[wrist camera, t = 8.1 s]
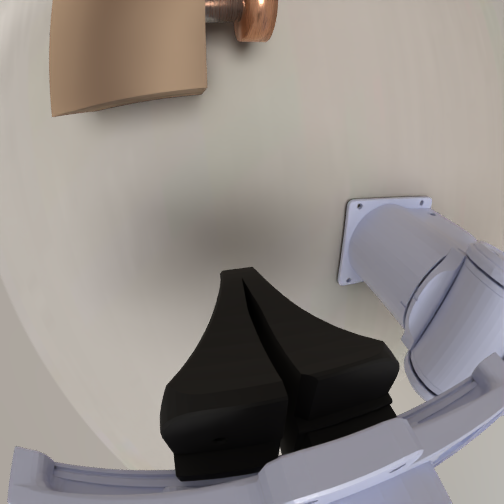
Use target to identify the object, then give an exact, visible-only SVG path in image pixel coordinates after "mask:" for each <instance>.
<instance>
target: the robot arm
mask: <svg viewBox="0 0 504 504" xmlns="http://www.w3.org/2000/svg"><path fill="white" fill-rule="evenodd" d="M420 201H421V203H420ZM358 204H360V206H359V207H358V208H357V206H358ZM431 204H432V199H431V198H430V197H428V196H420V197H391V198H369V199H353V200H350V201H349V202H348V204H347V211H346V221H345V229H344V237H343V245H342V253H341V260H340V267H339V273H338V280H337V281H338V283H339V285H341V286H343V285H349V284H354V283H359V282H365V283H366V284H367V285H368V286H369V288H370V289H371V290H372V291H373V292H374V293H375V295H376V296H377V297H378V298H379V299H380V300H381V302H382V303H383V304H384V305H385V306H386V308H387V309H388V310H389V311H390V312H391V314H392V315H393V316H394V317H395V318H396V320H397V321H398V322H399V323H400V325H401V326H402V327H403V328H404V330H405V332H404V334H403V336H402V338H401V341H402V342H403V343H404V344H405V346H406V347H407V348H408V350H409V351H408V352H407V353H406V355H405V359H404V368H405V372H406V375H407V377H408V379H409V381H410V384H411V385H412V387H413V388H414V390H415V391H416V393H417V394H418V395H419V396H420V397H421V398H422V399H424V400H425V401H426V402H425V403H423V404H421V405H419V406H417V407H415V408H413V409H411V410H409V411H407V412H404V413H402V414H400V415H398V416H396V414H395V412H394V411H393V409H392V407H391V406H390V404H391V403H392V398H391V397H390V395H389V393H388V392H389V390H390V388H391V386H392V385H393V383H394V381H395V379H396V377H397V374H398V372H399V362H398V361H397V360H396V358H395V357H394V355H393V353H392V352H391V350H390V349H389V348H388V347H387V345H386V344H385V343H384V342H383V341H380V340H376V339H372V338H369V337H365V336H361V335H358V334H355V333H352V332H349V331H346V330H343V329H341V328H338V327H336V326H334V325H331V324H329V323H327V322H325V321H323V320H321V319H319V318H317V317H315V316H313V315H311V314H310V313H308V312H306V311H305V310H303V309H301V308H300V307H298V306H297V305H295V304H294V303H293V302H291V301H290V300H289V299H287V298H286V297H285V296H284V295H282V294H281V293H280V292H279V291H278V290H276V289H275V288H274V287H273V286H272V285H271V284H270V283H269V282H268V281H266V280H265V279H264V278H263V277H262V276H261V275H260V274H259V273H258V272H257V271H256V270H255V269H254V268H253V267H248V268H240V269H233V270H225V271H222V272H221V273H220V278H221V282H220V289H219V294H218V298H217V302H216V305H215V308H214V311H213V314H212V317H211V319H210V322H209V324H208V326H207V328H206V330H205V332H204V334H203V336H202V338H201V340H200V342H199V343H198V345H197V347H196V348H195V350H194V352H193V353H192V354H191V356H190V357H189V359H188V360H187V362H186V363H185V364H184V366H183V367H182V368H181V369H180V371H179V372H178V373H177V374H176V375H175V376H174V377H173V379H172V380H171V381H170V382H169V383H168V384H167V385H166V388H165V392H164V395H163V400H162V404H161V411H160V433H161V435H162V438H163V439H164V441H165V442H166V444H167V445H168V446H169V448H170V449H171V451H172V452H173V453H174V462H175V470H119V469H105V468H94V467H85V466H77V465H70V464H64V463H58V462H54V461H53V460H52V459H51V458H50V457H48V456H47V455H45V454H44V453H41V452H39V451H36V450H31V449H27V448H23V447H19V446H16V447H15V450H14V455H13V461H12V467H11V473H10V481H9V490H8V501H7V502H8V504H452V501H451V499H450V498H449V496H448V494H447V492H446V490H445V488H444V486H443V484H442V482H441V480H440V478H439V477H438V475H437V473H436V471H435V469H434V467H436V466H437V465H439V464H440V463H442V462H443V461H445V460H446V459H448V458H449V457H450V456H452V455H453V454H455V453H456V452H457V451H458V450H460V449H461V448H463V447H464V446H465V445H467V444H468V443H469V442H470V441H472V440H473V439H474V438H475V437H477V436H478V435H479V434H480V433H482V432H483V431H484V430H485V429H486V428H488V427H489V426H490V425H491V424H492V423H493V422H495V420H497V419H498V418H499V417H500V416H503V415H504V252H503V251H501V250H500V249H498V248H496V247H495V246H493V245H491V244H489V243H487V242H484V241H478V242H477V240H476V239H475V237H474V236H473V235H472V234H471V233H469V232H468V231H466V230H465V229H463V228H462V227H460V226H459V225H457V224H455V223H454V222H452V221H451V220H449V219H447V218H446V217H444V216H443V215H441V214H439V213H438V212H436V211H434V210H433V209H431ZM348 278H349V279H348ZM347 279H348V280H347ZM279 448H281V453H282V455H280V456H278V455H279Z"/></svg>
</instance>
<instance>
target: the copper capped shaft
mask: <svg viewBox="0 0 504 504" xmlns="http://www.w3.org/2000/svg"><path fill="white" fill-rule="evenodd" d="M277 9H278V0H205V23H213V22H234V29H235V35H236V38H237V40H238V41H239V42H267V41H268V40H269V39H270V37H271V35H272V33H273V30H274V26H275V22H276V17H277Z"/></svg>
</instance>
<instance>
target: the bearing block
mask: <svg viewBox="0 0 504 504" xmlns="http://www.w3.org/2000/svg"><path fill="white" fill-rule="evenodd" d="M49 76H50V97H51V110H52V117H56V116H62V115H69V114H76V113H84V112H93V111H98V110H103V109H107V108H112V107H117V106H122V105H127V104H132V103H138V102H143V101H150V100H156V99H163V98H171V97H179V96H188V95H199V94H202V93H203V92H204V91H205V90H206V88H207V67H206V32H205V0H53V4H52V14H51V26H50V47H49Z"/></svg>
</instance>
